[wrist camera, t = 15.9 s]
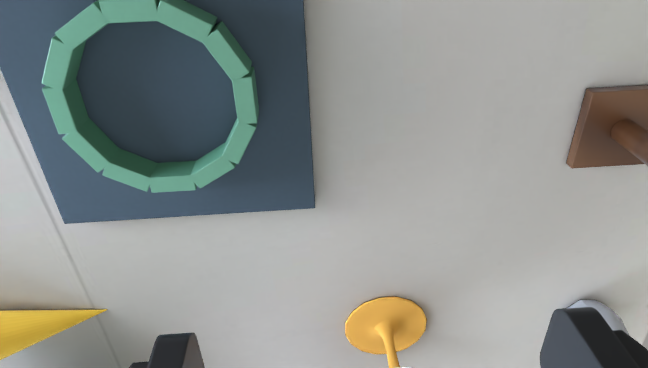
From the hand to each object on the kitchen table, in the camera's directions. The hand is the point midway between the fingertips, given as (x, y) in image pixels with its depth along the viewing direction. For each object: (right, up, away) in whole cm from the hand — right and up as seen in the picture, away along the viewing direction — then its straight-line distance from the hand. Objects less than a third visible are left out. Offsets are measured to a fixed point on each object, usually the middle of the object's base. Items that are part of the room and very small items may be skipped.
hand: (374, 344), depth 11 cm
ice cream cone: (-33, -10, +37) cm, 51 cm away
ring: (-13, +10, +25) cm, 30 cm away
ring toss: (+24, +9, +29) cm, 39 cm away
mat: (-13, +11, +26) cm, 31 cm away
